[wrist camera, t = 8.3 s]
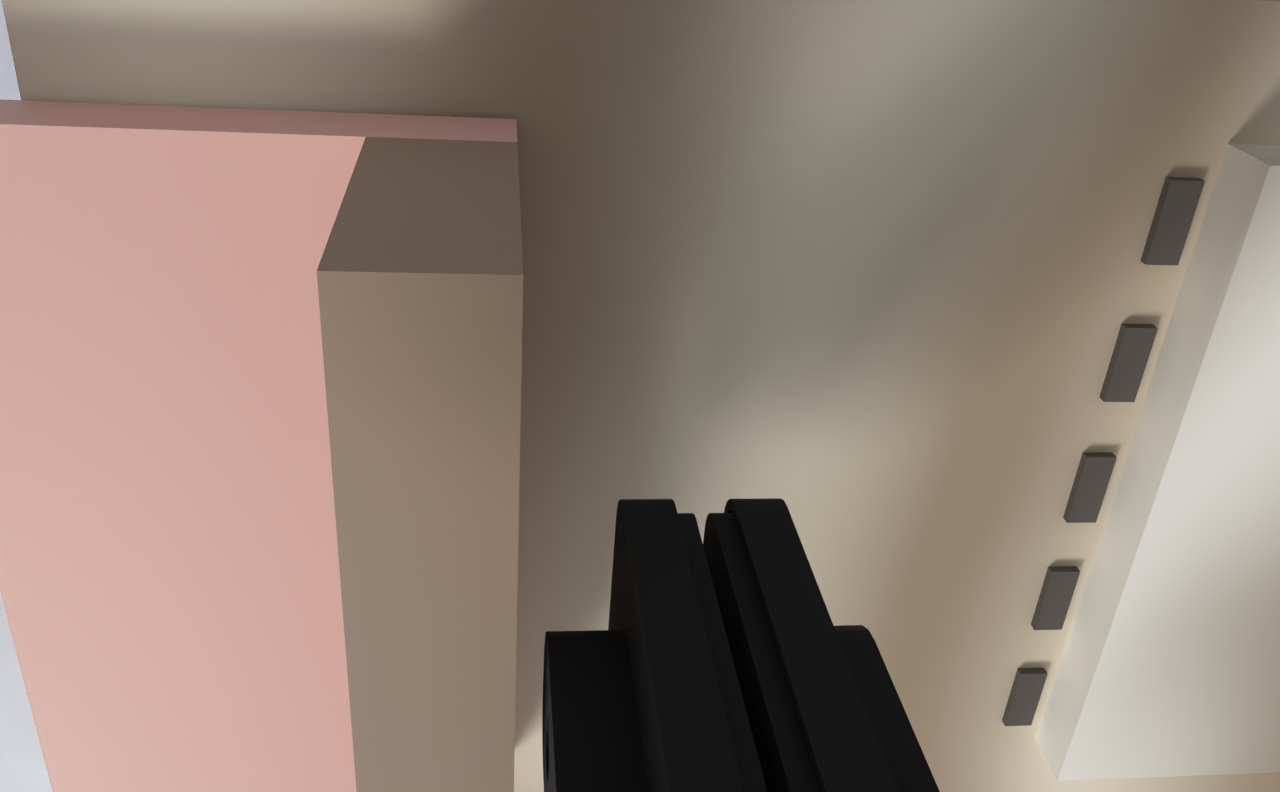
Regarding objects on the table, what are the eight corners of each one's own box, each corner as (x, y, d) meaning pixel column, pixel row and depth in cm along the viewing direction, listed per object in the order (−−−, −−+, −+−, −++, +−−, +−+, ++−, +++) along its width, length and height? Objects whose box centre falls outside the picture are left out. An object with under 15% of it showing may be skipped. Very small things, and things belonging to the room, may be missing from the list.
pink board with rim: (516, 119, 11) (523, 275, 8) (506, 762, 16) (509, 1046, 12) (-83, 96, 11) (-367, 257, 7) (81, 776, 15) (-45, 1082, 11)
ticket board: (1929, 20, 14) (2163, 61, 12) (1512, 718, 20) (1625, 824, 18) (46, -89, 11) (-51, -59, 9) (193, 762, 17) (152, 894, 15)
